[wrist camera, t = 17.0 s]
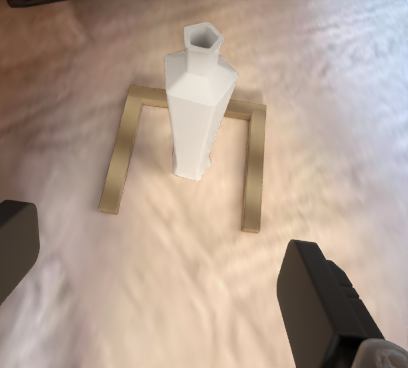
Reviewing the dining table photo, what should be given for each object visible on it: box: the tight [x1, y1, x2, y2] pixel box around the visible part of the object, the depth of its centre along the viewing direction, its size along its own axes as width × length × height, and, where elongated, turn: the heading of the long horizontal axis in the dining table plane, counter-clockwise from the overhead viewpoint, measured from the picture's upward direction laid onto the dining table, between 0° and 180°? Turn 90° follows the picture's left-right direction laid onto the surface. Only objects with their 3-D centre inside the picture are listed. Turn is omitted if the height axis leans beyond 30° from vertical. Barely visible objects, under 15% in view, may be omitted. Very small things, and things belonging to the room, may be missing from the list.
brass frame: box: [98, 85, 266, 233], centre depth 30 cm, size 13×14×1 cm
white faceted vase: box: [165, 22, 239, 181], centre depth 23 cm, size 5×4×15 cm
